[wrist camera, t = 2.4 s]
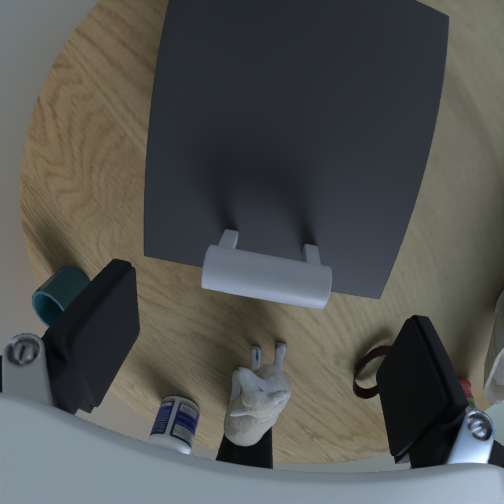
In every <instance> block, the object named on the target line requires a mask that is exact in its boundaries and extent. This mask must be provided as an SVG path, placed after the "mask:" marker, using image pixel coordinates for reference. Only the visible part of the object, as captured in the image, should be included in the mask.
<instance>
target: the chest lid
mask: <svg viewBox="0 0 504 504" xmlns="http://www.w3.org/2000/svg"><path fill="white" fill-rule="evenodd" d="M448 33H449V16H447V15H445V14H443V13H441V12H439V11H437V10H435V9H433V8H431V7H429V6H427V5H425V4H422V3H420V2H418V1H415V0H169V3H168V7H167V11H166V16H165V21H164V26H163V31H162V36H161V41H160V47H159V52H158V58H157V65H156V71H155V78H154V85H153V93H152V101H151V109H150V119H149V129H148V141H147V154H146V170H145V192H144V256H147V257H152V258H157V259H162V260H167V261H172V262H176V263H181V264H186V265H191V266H196V267H201V268H202V273H201V286H202V287H203V288H205V289H210V290H215V291H220V292H225V293H231V294H236V295H241V296H246V297H252V298H257V299H262V300H268V301H274V302H279V303H285V304H291V305H297V306H302V307H308V308H315V309H323V308H324V307H325V305H326V303H327V301H328V298H329V295H330V291H332V292H338V293H344V294H350V295H356V296H362V297H368V298H374V299H379V298H380V296H381V294H382V292H383V289H384V287H385V285H386V282H387V280H388V277H389V275H390V272H391V270H392V267H393V265H394V262H395V260H396V257H397V254H398V252H399V249H400V246H401V244H402V241H403V238H404V235H405V232H406V230H407V227H408V224H409V221H410V218H411V215H412V212H413V208H414V205H415V202H416V199H417V196H418V192H419V189H420V185H421V182H422V178H423V175H424V171H425V167H426V163H427V160H428V156H429V152H430V147H431V143H432V139H433V134H434V130H435V125H436V120H437V115H438V110H439V104H440V99H441V93H442V86H443V80H444V72H445V64H446V56H447V46H448Z"/></svg>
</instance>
